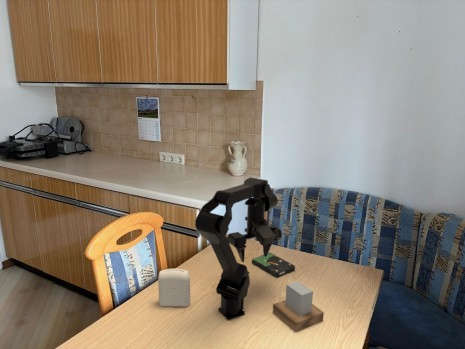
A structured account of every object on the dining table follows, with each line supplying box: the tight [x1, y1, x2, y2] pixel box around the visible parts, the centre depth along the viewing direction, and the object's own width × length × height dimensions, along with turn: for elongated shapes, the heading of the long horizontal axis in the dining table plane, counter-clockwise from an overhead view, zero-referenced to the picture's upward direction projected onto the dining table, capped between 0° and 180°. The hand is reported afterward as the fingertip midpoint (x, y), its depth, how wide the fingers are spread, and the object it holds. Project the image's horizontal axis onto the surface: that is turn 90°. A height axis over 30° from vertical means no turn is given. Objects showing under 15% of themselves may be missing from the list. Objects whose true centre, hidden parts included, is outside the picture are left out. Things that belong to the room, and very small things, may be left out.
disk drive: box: [251, 252, 296, 279], centre depth 143 cm, size 10×3×15 cm
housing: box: [285, 280, 314, 316], centre depth 110 cm, size 7×4×7 cm, turn 31°
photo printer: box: [157, 268, 191, 308], centre depth 115 cm, size 10×4×12 cm, turn 90°
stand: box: [272, 299, 325, 333], centre depth 111 cm, size 11×11×3 cm
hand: (254, 259), depth 121 cm, fingers open, 9 cm apart
